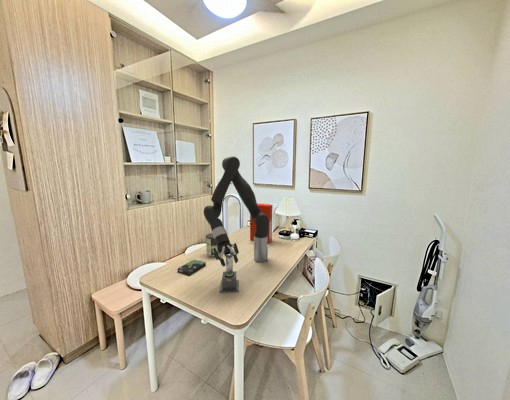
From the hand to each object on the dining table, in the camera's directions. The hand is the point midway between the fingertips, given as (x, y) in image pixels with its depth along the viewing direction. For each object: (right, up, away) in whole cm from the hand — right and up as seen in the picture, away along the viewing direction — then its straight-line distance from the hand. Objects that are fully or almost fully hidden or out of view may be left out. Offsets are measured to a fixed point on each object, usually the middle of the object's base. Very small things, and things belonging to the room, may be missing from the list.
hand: (230, 264), depth 111 cm
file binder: (+18, -2, +73) cm, 75 cm away
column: (-1, -8, +3) cm, 8 cm away
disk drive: (-27, -11, +23) cm, 37 cm away
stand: (-1, -13, +4) cm, 14 cm away
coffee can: (-18, -6, +46) cm, 50 cm away
